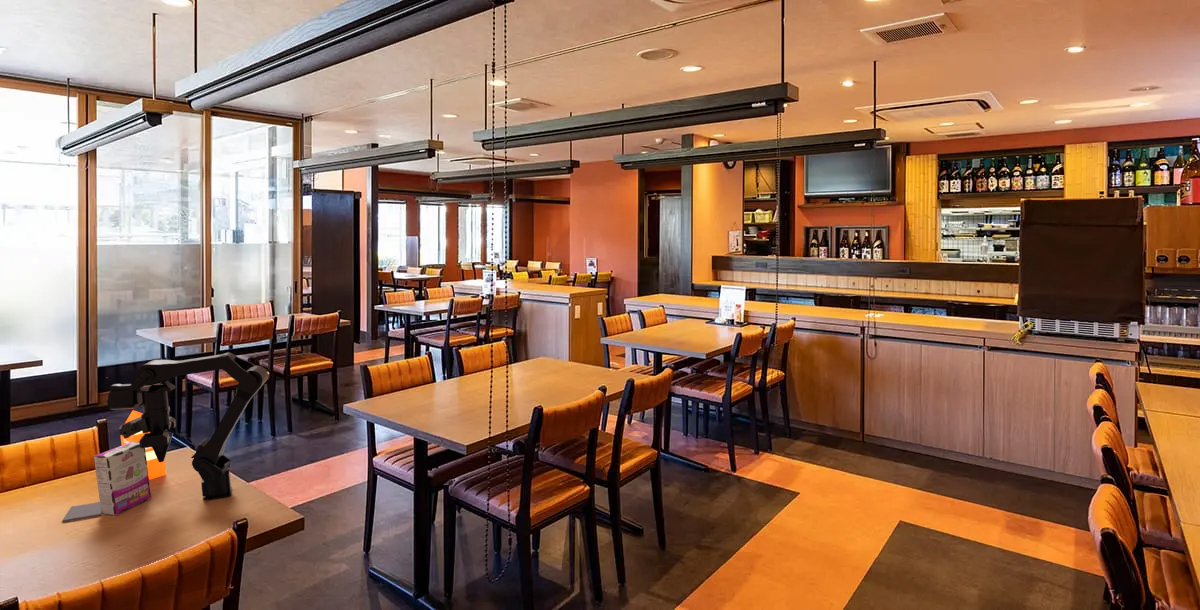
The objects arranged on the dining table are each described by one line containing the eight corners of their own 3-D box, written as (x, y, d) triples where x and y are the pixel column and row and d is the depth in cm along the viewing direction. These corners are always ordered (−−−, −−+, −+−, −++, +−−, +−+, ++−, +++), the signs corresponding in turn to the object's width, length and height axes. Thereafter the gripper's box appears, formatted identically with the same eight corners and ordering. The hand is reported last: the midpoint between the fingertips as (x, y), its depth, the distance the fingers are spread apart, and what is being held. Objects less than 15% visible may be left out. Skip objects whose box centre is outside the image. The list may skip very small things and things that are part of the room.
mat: (107, 502, 183) (107, 500, 182) (100, 515, 175) (100, 513, 175) (71, 508, 179) (71, 506, 179) (62, 522, 171) (62, 520, 171)
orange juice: (138, 483, 196) (130, 418, 193) (124, 477, 200) (117, 413, 198) (166, 474, 202) (160, 411, 199) (153, 468, 207) (146, 406, 204)
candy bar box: (137, 497, 186) (131, 441, 184) (152, 498, 185) (146, 442, 183) (99, 514, 175) (92, 455, 173) (114, 516, 174) (108, 456, 172)
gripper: (126, 402, 185) (132, 455, 187) (112, 420, 169) (119, 479, 171) (173, 397, 190) (178, 449, 192) (164, 414, 174) (170, 471, 176)
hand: (161, 461), depth 183 cm, fingers closed
